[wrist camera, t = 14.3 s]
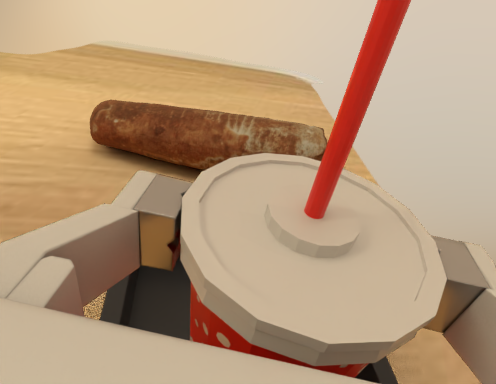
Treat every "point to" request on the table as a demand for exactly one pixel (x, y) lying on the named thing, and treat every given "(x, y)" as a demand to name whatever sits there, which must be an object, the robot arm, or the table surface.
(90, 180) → the table surface
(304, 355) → the beverage cup
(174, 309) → the tray
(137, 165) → the table surface
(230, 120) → the bread
